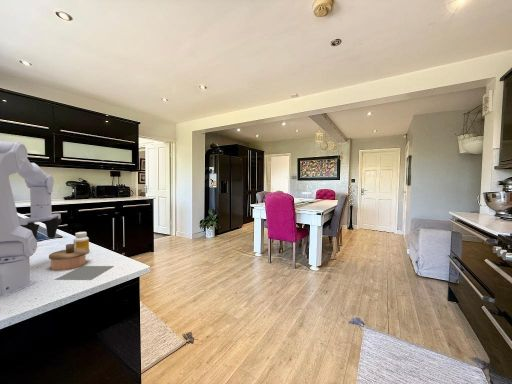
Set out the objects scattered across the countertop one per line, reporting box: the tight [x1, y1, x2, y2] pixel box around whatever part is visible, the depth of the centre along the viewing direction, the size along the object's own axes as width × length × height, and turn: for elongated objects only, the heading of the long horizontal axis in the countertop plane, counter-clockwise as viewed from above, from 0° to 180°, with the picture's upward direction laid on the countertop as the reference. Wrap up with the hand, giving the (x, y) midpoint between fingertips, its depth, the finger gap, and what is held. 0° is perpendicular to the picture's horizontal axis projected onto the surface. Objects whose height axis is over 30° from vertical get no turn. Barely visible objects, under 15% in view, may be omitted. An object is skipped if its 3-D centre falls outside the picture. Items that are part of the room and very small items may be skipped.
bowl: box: [50, 254, 87, 271], centre depth 86 cm, size 10×10×4 cm
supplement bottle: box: [73, 231, 90, 250], centre depth 100 cm, size 5×5×10 cm
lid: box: [48, 243, 90, 260], centre depth 86 cm, size 12×12×4 cm
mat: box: [54, 265, 115, 281], centre depth 79 cm, size 12×12×1 cm
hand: (42, 240), depth 86 cm, fingers open, 7 cm apart
